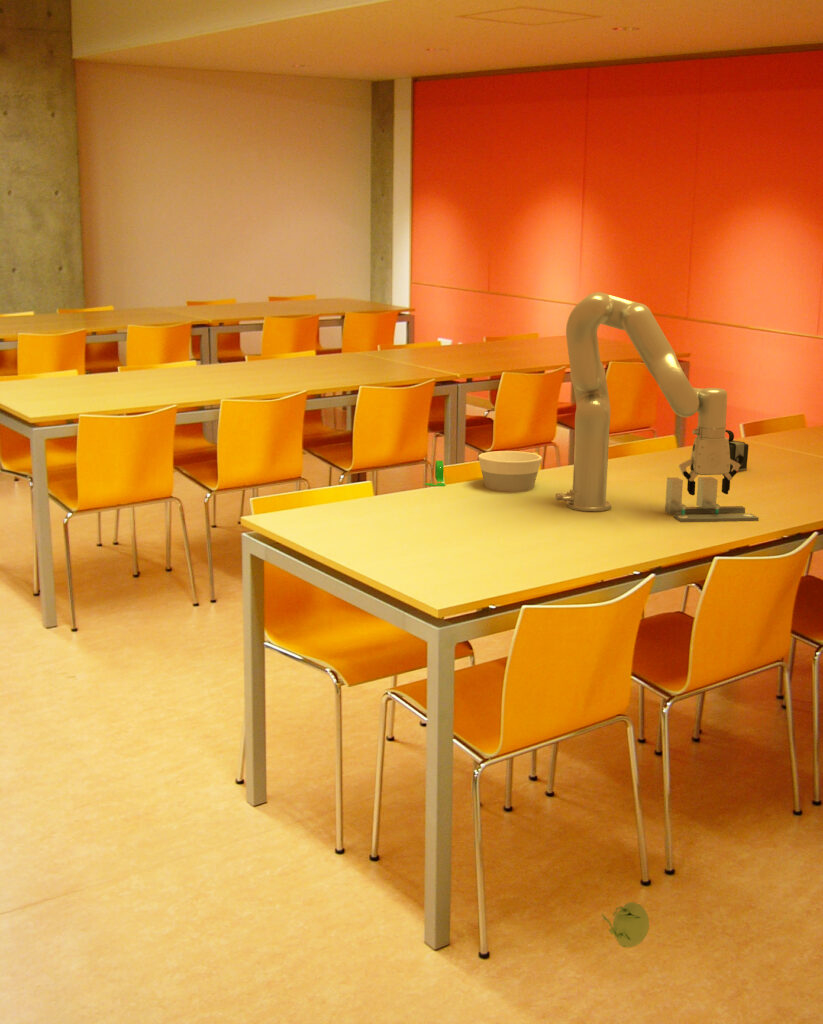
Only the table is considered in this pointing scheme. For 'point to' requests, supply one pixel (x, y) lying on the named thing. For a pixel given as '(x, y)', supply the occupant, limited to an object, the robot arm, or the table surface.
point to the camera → (738, 452)
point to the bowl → (509, 470)
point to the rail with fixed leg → (677, 508)
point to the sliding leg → (707, 493)
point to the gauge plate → (716, 517)
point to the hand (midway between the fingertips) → (708, 493)
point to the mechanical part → (438, 474)
